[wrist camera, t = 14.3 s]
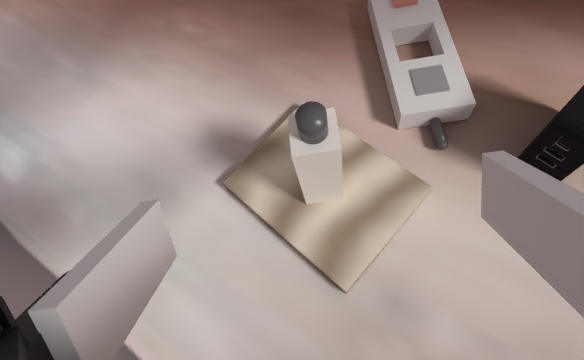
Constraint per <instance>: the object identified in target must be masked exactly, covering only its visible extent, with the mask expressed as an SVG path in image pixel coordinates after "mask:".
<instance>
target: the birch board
mask: <svg viewBox="0 0 584 360" xmlns="http://www.w3.org/2000/svg"><path fill="white" fill-rule="evenodd" d="M304 103H306V102H305V101H304V102H303V103H302V104H304ZM302 104H301V105H302ZM297 109H298V108H297ZM297 109H296V110H297ZM296 110H295V111H294V112H293V113H292V114H295V112H296ZM338 130H339V136H340V142H341V148H342V171H343V198H344V199H342V200H335V201H327V202H320V203H312V204H306V202H305V199H304V196H303V192H302V189H301V186H300V183H299V179H298V176H297V173H296V170H295V167H294V163H293V160H292V157H291V147H290V137H289V127H288V118H287V119H286V120H285V121H284V122H283V123H282V124H281V125H280V126H279V127H278V128H277V129H276V130H275V131H274V132H273V133H272V134H271V135H270V136H269V137H268V138H267V139H266V140H265V141H264V142H263V143H262V144H261V145H260V146H259V147H258V148H257V149H256V150H255V151H254V152H253V153H252V154H251V155H250V156H249V157H248V158H247V159H246V160H245V161H244V162H243V163H242V164H241V165H240V166H239V167H238V168H237V169H236V170H235V171H234V172H233V173H232V174H231V175H230V176H229V177H228V178H227V179H226V180H225V181H224V182H223V184H224V185H225V186H226V187H227V188H228V189H229V190H230V191H231V192H232V193H233V194H234V195H235V196H237V197H238V198H239V199H240V200H241V201H242V202H243V203H244V204H246V205H247V206H248V207H249V208H250V209H251V210H252V211H254V212H255V213H256V214H257V215H258V216H259V217H260V218H261V219H263V220H264V221H265V222H266V223H267V224H268V225H269V226H270V227H272V228H273V229H274V230H275V231H276V232H277V233H278V234H279V235H281V236H282V237H283V238H284V239H285V240H286V241H287V242H288V243H290V244H291V245H292V246H293V247H294V248H295V249H296V250H297V251H299V252H300V253H301V254H302V255H303V256H304V257H305V258H307V259H308V260H309V261H310V262H311V263H312V264H313V265H314V266H316V267H317V268H318V269H319V270H320V271H321V272H322V273H323V274H325V275H326V276H327V277H328V278H329V279H330V280H331V281H332V282H334V283H335V284H336V285H337V286H338V287H339V288H340V289H341V290H343V291H344V292H345V293H346V294H347V292H348V291H349V290H350V289H351V287H352V286H353V285H354V284H355V283H356V281H357V280H358V279H359V278H360V277H361V275H362V274H363V273H364V272H365V270H366V269H367V268H368V267H369V266H370V264H371V263H372V262H373V261H374V260H375V258H376V257H377V256H378V255H379V253H380V252H381V251H382V250H383V249H384V247H385V246H386V245H387V244H388V243H389V241H390V240H391V239H392V238H393V236H394V235H395V234H396V233H397V232H398V230H399V229H400V228H401V227H402V226H403V224H404V223H405V222H406V221H407V219H408V218H409V217H410V216H411V215H412V213H413V212H414V211H415V210H416V209H417V207H418V206H419V205H420V204H421V202H422V201H423V200H424V199H425V198H426V196H427V195H428V194H429V193H430V191H431V189H432V186H430V185H429V184H427V183H426V182H424V181H423V180H421V179H420V178H418V177H417V176H415V175H414V174H412V173H411V172H409V171H408V170H406V169H405V168H403V167H402V166H400V165H399V164H397V163H396V162H394V161H393V160H391V159H390V158H388V157H387V156H385V155H384V154H382V153H381V152H379V151H378V150H376V149H375V148H373V147H372V146H370V145H369V144H367V143H366V142H364V141H363V140H361V139H360V138H358V137H357V136H355V135H354V134H352V133H351V132H349V131H348V130H346V129H345V128H343V127H342V126H340V125H339V124H338Z"/></svg>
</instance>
